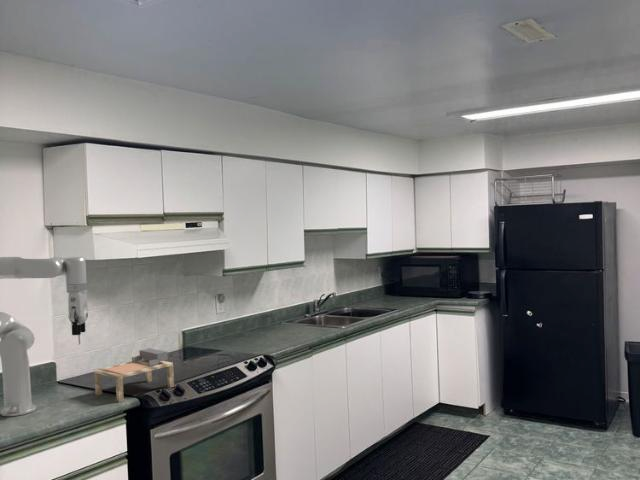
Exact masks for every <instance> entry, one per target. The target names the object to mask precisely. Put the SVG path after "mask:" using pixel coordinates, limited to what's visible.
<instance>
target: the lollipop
mask: <svg viewBox="0 0 640 480" xmlns="http://www.w3.org/2000/svg"><path fill="white" fill-rule="evenodd" d="M88 315H89V312H88V313H87V311H86V310H85V311H84V316H83V317H80V316H79V321H80V322H79V325H80V324H83V323H84V322H85V323H86V321H87V320H88ZM70 316H71V315H70ZM76 317H78V315H77V314H75V319H77V318H76ZM68 320H69V321H70V323H71V319H70V317H69V315H68ZM77 336H78V337H77V338H78V345H81V334H80V335H77Z"/></svg>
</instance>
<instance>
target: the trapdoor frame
mask: <svg viewBox="0 0 640 480" xmlns="http://www.w3.org/2000/svg"><path fill="white" fill-rule="evenodd" d="M149 361H151V360H146V359H142V360H139V361H135V363H139V364H144V365H148V366H149ZM129 363H134V362H132V361H128V362H125V363H120V364H116V365H111V366H106V367H102V368H98V369H94V370H93V371H94V373H93V374H94V375H93V377H94V389H95V391H94V392H95V393H94V394H95V396H102V395H103V385H102V383H103V381H102V376H106V377H109V378H112V379H115V393H116V394H115V395H116V397H115V399H116V402H117V403H122V402H124V401H125V400H124V398H125V397H124V381H123V380H124V379H123V378H127V377H131V376H135V375H138V374H143V373H144V374H145V382H147V383H150V382H152V381H153V374H152V372H153V371H154V370H156V371H157V370H159V369H162V368H163V369H164V368H166V379H167V388H174V387H175V376H174V363H173V362H172V361H171V362H170V361H168V360H164V361H160V362H159V364H155V365H151V366H152V367H149V368H145V369H141V370H137V371H133V372H129V373H125V374H121V375H119V374H115V373H111V372H107V371H105V369H108V368H112V367H117V366H121V365H125V364H129Z"/></svg>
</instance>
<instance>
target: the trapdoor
mask: <svg viewBox="0 0 640 480" xmlns="http://www.w3.org/2000/svg"><path fill="white" fill-rule="evenodd" d="M142 359H146V360H151V361H149V366H148V365H144V364H139V363H135V361H139V360H142ZM160 361H168V351H165V350H161V349H154V348H150V347H149V348H145V349H140V350H139V355H136V356H131V362H134V363H129V364H125V365H121V366H117V367H112V368H108V369H105V371H107V372H111V373H115V374H119V375H121V374H125V373H129V372H133V371H137V370H141V369H145V368H149V367H152V366H151V365H155V364H159V362H160Z"/></svg>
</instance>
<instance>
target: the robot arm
mask: <svg viewBox="0 0 640 480" xmlns="http://www.w3.org/2000/svg"><path fill="white" fill-rule="evenodd" d="M86 261H87V260H86V259H85V258H84V256H83V257H82V256H74V257H73V256H71V257H58V256H57V257H50V258H25V257H24V258H23V257H21V256H0V280H1V279H3V280H5V279H12V280H13V279H15V280H16V279H17V280H19V279H20V280H21V279H22V280H23V279H52V278H56V277H60V276H65V286H66V294H68V299H67V301H68V302H67V303H68V305H67V306H68V316H69V317H70V319H71V322H70V323H71V335H72V336H78V335H80V336H81V335H82V333H85V332H86V331H87V330H86V321H85V322H84V323H83V324H80V325H79V322H80V321H79V316H80V317H83V316H84V311H85V310H86V311H87V313H88V314H89V305H88V304H89V303H88V296H87V292H88V285H87V284H88V283H87V282H88V281H87V264H86V263H87V262H86ZM75 314H77V315H78V317H76V318H77V319H75ZM70 315H71V316H70ZM69 317H68V318H69ZM34 344H35V335H34V333H33V331H32V330H31V329H30V328H29V327H27V326H26V325H25V324H23V323H22V322H20V321H19V320H17V319H16V318H14V317H13V316H12V315H10V314H8V313H6V312H3V311H0V361H1V374H2V386H3V387H2V388H3V405H4V406H3V407H4V408H2V409H1V410H0V415H1V416H2V417H18V416H23V415H26V414H29V413H32V412H34V411H36V409H37V405H36V404H34V403H33V402H32V388H31V387H32V386H31V370H30V359H29V356H28V350H29V349H30V348H31V347H32V346H34Z"/></svg>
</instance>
